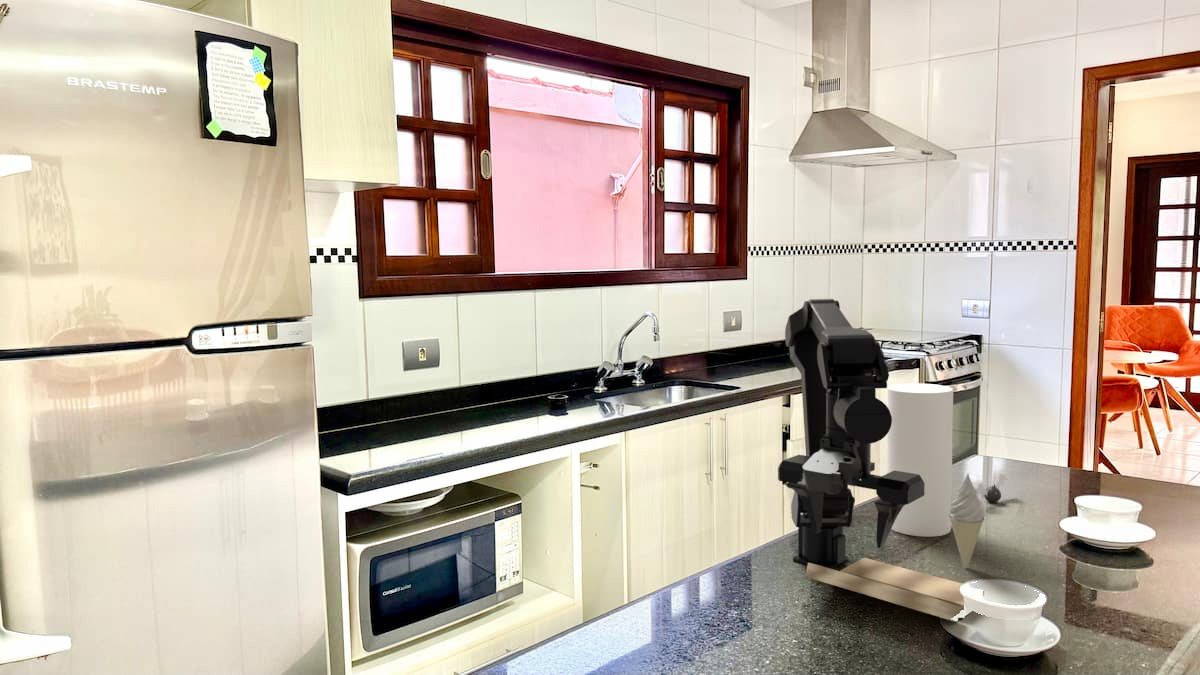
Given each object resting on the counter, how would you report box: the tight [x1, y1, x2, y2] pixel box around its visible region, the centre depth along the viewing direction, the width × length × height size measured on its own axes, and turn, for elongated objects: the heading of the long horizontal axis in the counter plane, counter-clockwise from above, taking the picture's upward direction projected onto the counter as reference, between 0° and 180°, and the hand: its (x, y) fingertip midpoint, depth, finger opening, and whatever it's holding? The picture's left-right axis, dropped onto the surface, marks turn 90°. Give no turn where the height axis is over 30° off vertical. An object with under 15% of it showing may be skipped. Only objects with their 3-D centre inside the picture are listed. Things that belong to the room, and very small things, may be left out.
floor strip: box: [840, 557, 964, 610], centre depth 118 cm, size 18×8×2 cm, turn 44°
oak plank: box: [804, 562, 961, 621], centre depth 112 cm, size 18×9×2 cm, turn 44°
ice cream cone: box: [949, 473, 986, 569], centre depth 126 cm, size 5×5×15 cm
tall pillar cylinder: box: [886, 382, 954, 538], centre depth 145 cm, size 11×11×25 cm
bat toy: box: [975, 474, 1009, 504], centre depth 159 cm, size 3×15×5 cm, turn 130°
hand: (847, 539), depth 112 cm, fingers open, 9 cm apart
